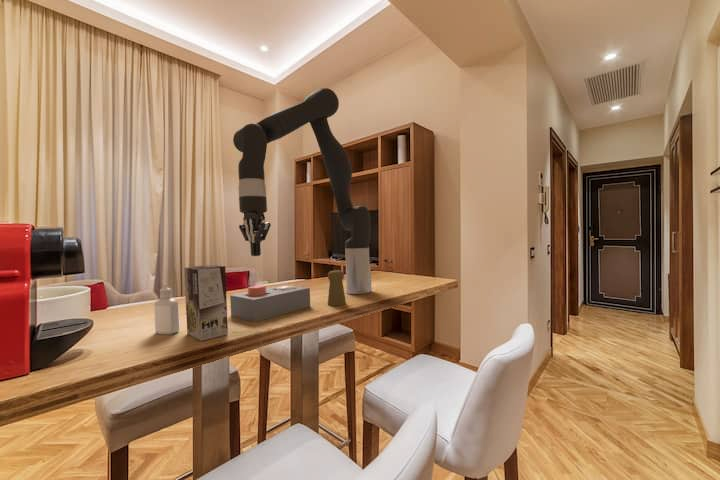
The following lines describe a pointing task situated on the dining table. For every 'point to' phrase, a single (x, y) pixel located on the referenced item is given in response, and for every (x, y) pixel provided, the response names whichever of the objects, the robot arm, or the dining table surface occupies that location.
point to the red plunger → (256, 291)
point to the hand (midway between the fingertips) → (255, 255)
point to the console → (269, 303)
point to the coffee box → (206, 301)
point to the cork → (336, 288)
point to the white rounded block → (284, 288)
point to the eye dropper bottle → (166, 313)
